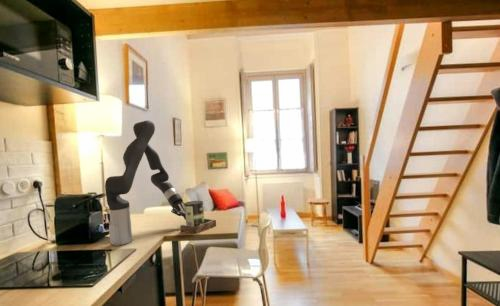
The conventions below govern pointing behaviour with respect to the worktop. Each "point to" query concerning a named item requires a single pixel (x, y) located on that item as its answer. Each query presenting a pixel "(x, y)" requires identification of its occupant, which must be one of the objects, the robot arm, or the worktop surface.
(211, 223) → the walnut bay
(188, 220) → the coffee can
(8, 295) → the worktop surface
